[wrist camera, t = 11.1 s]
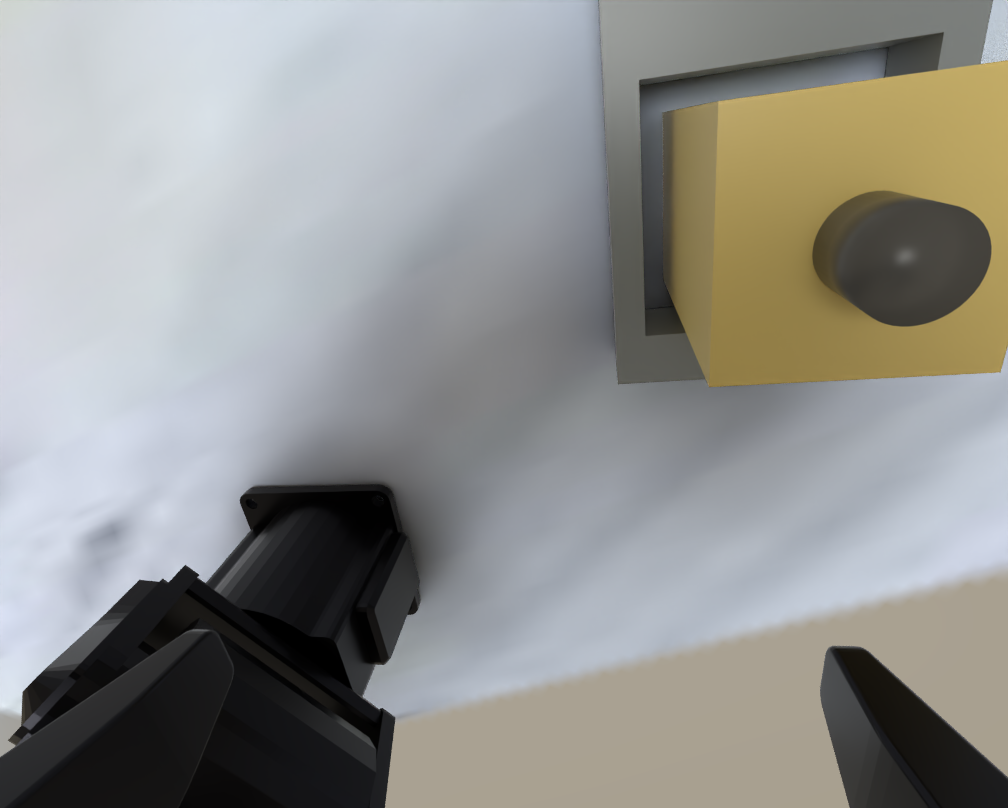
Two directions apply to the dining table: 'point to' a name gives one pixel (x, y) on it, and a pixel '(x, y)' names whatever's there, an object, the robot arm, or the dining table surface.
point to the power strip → (722, 48)
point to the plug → (842, 229)
